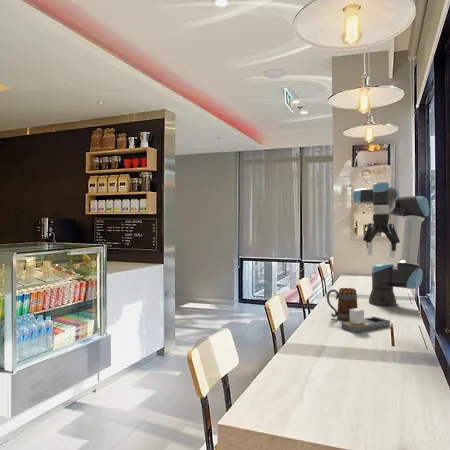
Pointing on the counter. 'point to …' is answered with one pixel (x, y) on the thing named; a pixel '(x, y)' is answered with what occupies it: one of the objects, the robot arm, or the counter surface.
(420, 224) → the robot arm
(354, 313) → the steel peg
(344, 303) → the mug
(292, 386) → the counter surface
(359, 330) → the rail plate
